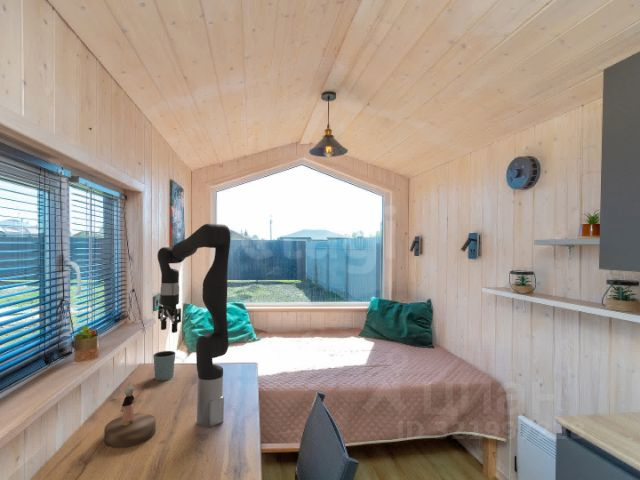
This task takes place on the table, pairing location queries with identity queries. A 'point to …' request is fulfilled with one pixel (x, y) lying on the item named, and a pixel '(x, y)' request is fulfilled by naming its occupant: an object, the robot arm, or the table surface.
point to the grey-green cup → (164, 365)
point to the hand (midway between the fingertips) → (168, 331)
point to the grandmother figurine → (128, 406)
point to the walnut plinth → (129, 431)
